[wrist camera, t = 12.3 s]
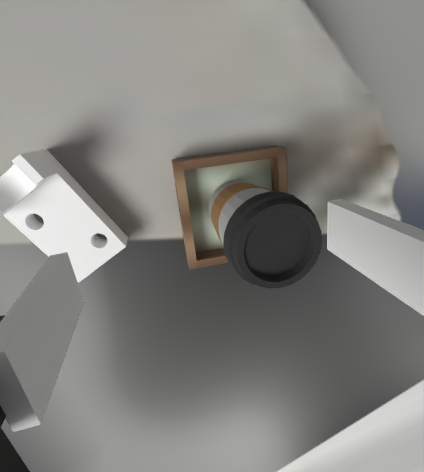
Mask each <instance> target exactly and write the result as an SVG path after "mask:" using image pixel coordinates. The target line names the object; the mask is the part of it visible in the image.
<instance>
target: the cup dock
mask: <svg viewBox="0 0 424 472" xmlns="http://www.w3.org/2000/svg"><path fill="white" fill-rule="evenodd" d="M172 166H173V173H174V179H175V186H176V192H177V199H178V205H179V212H180V218H181V225H182V231H183V238H184V244H185V251H186V257H187V262H188V265H189V268H190V269H195V268H201V267H206V266H212V265H217V264H222V263H228V260H227V258H226V256H225V252H224V248H223V246H222V244H221V242H220V240H219V237H218V235H217V233H216V230H215V228H214V226H213V223H212V220H211V217H210V214H209V201H210V198H211V196H212V194H213V193H214V191H215V190H216V189H217V188H218V187H219V186H221V185H222V184H224V183H226V182H230V181H240V182H244V183H250V184H253V185H256V186H260V187H263V188H266V189H269V190H273V191H274V192H284V193H287V162H286V147H279V146H273V147H266V148H258V149H251V150H243V151H236V152H228V153H221V154H213V155H206V156H198V157H191V158H183V159H176V160H172Z"/></svg>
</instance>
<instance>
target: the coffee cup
mask: <svg viewBox="0 0 424 472" xmlns="http://www.w3.org/2000/svg"><path fill="white" fill-rule="evenodd" d="M209 214H210V217H211V220H212V223H213V226H214V228H215V230H216V233H217V235H218V237H219V240H220V242H221V244H222V246H223V248H224V252H225V256H226V258H227V260H228V262H229V264H230V266H231V267H232V268H233V269H234V270H235V271H236V272H237V273H238V274H239V275H240V276H241V277H242V278H243V279H244V280H246V281H248V282H250V283H252V284H255V285H258V286H261V287H266V288H281V287H285V286H288V285H291V284H293V283H295V282H297V281H298V280H300V279H301V278H302V277H303V276H305V275H306V274H307V273H308V272H309V271H310V270H311V268H312V267H313V266H314V264H315V263H316V260H317V258H318V256H319V254H320V249H321V245H322V236H321V230H320V227H319V224H318V222H317V220H316V217H315V215H314V213H313V212H312V211H311V209H310V208H309V207H308V206H307V205H306V204H304V203H303V202H302V201H300V200H299V199H298V198H296V197H295V196H293V195H291V194H287V193H284V192H274V191H273V190H269V189H266V188H263V187H260V186H256V185H253V184H250V183H244V182H240V181H230V182H226V183H224V184H222V185H221V186H219V187H218V188H217V189H216V190H215V191H214V193H213V194H212V196H211V198H210V201H209Z"/></svg>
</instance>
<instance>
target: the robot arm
mask: <svg viewBox="0 0 424 472" xmlns="http://www.w3.org/2000/svg"><path fill="white" fill-rule="evenodd" d="M327 249H328V250H329V251H331V252H332V253H334V254H335V255H337V256H338V257H339V258H341V259H342V260H344V261H345V262H347V263H348V264H349V265H351V266H352V267H354V268H355V269H357V270H358V271H360V272H361V273H362V274H364V275H365V276H367V277H368V278H370V279H371V280H373V281H374V282H376V283H377V284H378V285H380V286H381V287H383V288H384V289H386V290H387V291H388V292H390V293H392V294H393V295H394V296H396V297H397V298H399V299H400V300H402V301H403V302H404V303H406V304H407V305H409V306H410V307H412V308H413V309H415V310H416V311H418V312H419V313H421V314H422V315H423V316H424V230H421V229H419V228H416V227H413V226H411V225H408V224H406V223H403V222H400V221H398V220H395V219H392V218H390V217H387V216H385V215H382V214H379V213H377V212H374V211H372V210H369V209H366V208H364V207H361V206H358V205H356V204H353V203H351V202H348V201H345V200H343V199H338V200H333V201H328V225H327ZM83 305H84V299H83V296H82V294H81V291H80V288H79V285H78V282H77V279H76V276H75V273H74V270H73V267H72V264H71V262H70V259H69V256H68V253H67V252H66V253H61V254H55V255H50V256H49V258H48V259H47V260H46V262H45V263H44V264H43V266H42V267H41V268H40V270H39V271H38V272H37V274H36V275H35V276H34V278H33V279H32V280H31V282H30V283H29V284H28V286H27V287H26V288H25V290H24V291H23V292H22V294H21V295H20V296H19V298H18V299H17V300H16V302H15V303H14V304H13V306H12V307H11V309H10V310H9V311H8V312H7V314H6V315H4V316H0V472H30V471H29V470H28V468H27V467H26V465H25V464H24V462H23V461H22V459H21V458H20V456H19V455H18V453H17V452H16V450H15V449H14V447H13V445H12V444H11V442H10V441H9V439H8V438H7V436H6V435H5V433H4V432H3V430H2V429H1V425H2V423H3V421H4V419H5V418H6V420H7V422H8V424H9V425H10V427H11V429H12V431H13V432H14V431H18V430H22V429H26V428H30V427H33V426H37V425H40V424H41V422H42V420H43V417H44V414H45V411H46V408H47V405H48V402H49V400H50V397H51V394H52V391H53V388H54V386H55V383H56V380H57V378H58V375H59V372H60V369H61V366H62V364H63V361H64V358H65V355H66V352H67V350H68V347H69V344H70V341H71V338H72V335H73V333H74V330H75V327H76V324H77V322H78V319H79V316H80V313H81V310H82V307H83Z"/></svg>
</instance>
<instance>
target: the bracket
mask: <svg viewBox="0 0 424 472" xmlns="http://www.w3.org/2000/svg"><path fill="white" fill-rule="evenodd" d="M12 162H13V163H14V164H13V166H12V167H11V168H10V169H9V170H8V171H7V172H6V173H4V174H3V175H2V176H1V177H0V216H2V215H3V216H5V217H6V218H7V219H8V220H9V221H10V222H11V223H12V224H13V225H14V226H16V227H17V228H18V229H19V230H20V231H21V232H22V233H23V234H24V235H25V236H26V237H28V238H29V239H30V240H31V241H32V242H33V243H34V244H35V245H36V246H37V247H39V248H40V249H41V250H42V251H43V252H44V253H45V254H46V255H47V256H48V257H49V256H50V255H55V254H61V253H66V252H67V253H68V256H69V259H70V262H71V264H72V267H73V270H74V273H75V276H76V279H77V282H78V283H79V282H80V281H81V280H83V279H84V278H85V277H87V276H88V275H89V274H90V273H92V272H93V271H95V270H96V269H97V268H98V267H100V266H101V265H102V264H103V263H105V262H106V261H108V260H109V259H110V258H112V257H113V256H114V255H116V254H117V253H118V252H120V251H121V250H122V249H123V248H125V247H126V244H127V239H128V237H127V236H126V235H125V233H124V232H123V231H122V230H121V229H120V228H119V227H118V226H117V225H116V224H115V223H114V222H113V220H112V219H111V218H110V217H109V216H108V215H107V214H106V213H105V212H104V211H103V210H102V209H101V207H100V206H99V205H98V204H97V203H96V202H95V201H94V200H93V199H92V198H91V197H90V196H89V194H88V193H87V192H86V191H85V190H84V189H83V188H82V187H81V186H80V185H79V184H78V183H77V181H76V180H75V179H74V178H73V177H72V176H71V175H70V174H69V173H68V172H67V171H66V169H65V168H64V167H63V166H62V165H61V164H60V163H59V162H58V161H57V160H56V159H55V158H54V156H53V155H52V154H51V153H50V152H49V151H48V150H41V151H36V152H30V153H25V154H20V155H18V156H17V157H16V158H15V159H13V160H12ZM34 214H37V215H39V216H41V217H42V219H43V221H44V223H41V222H38V221H37V220H36V219H35V217H34ZM97 233H100V234H103V235H105V236H106V238H105V239H102V238H99V237H98V236H97Z"/></svg>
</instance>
